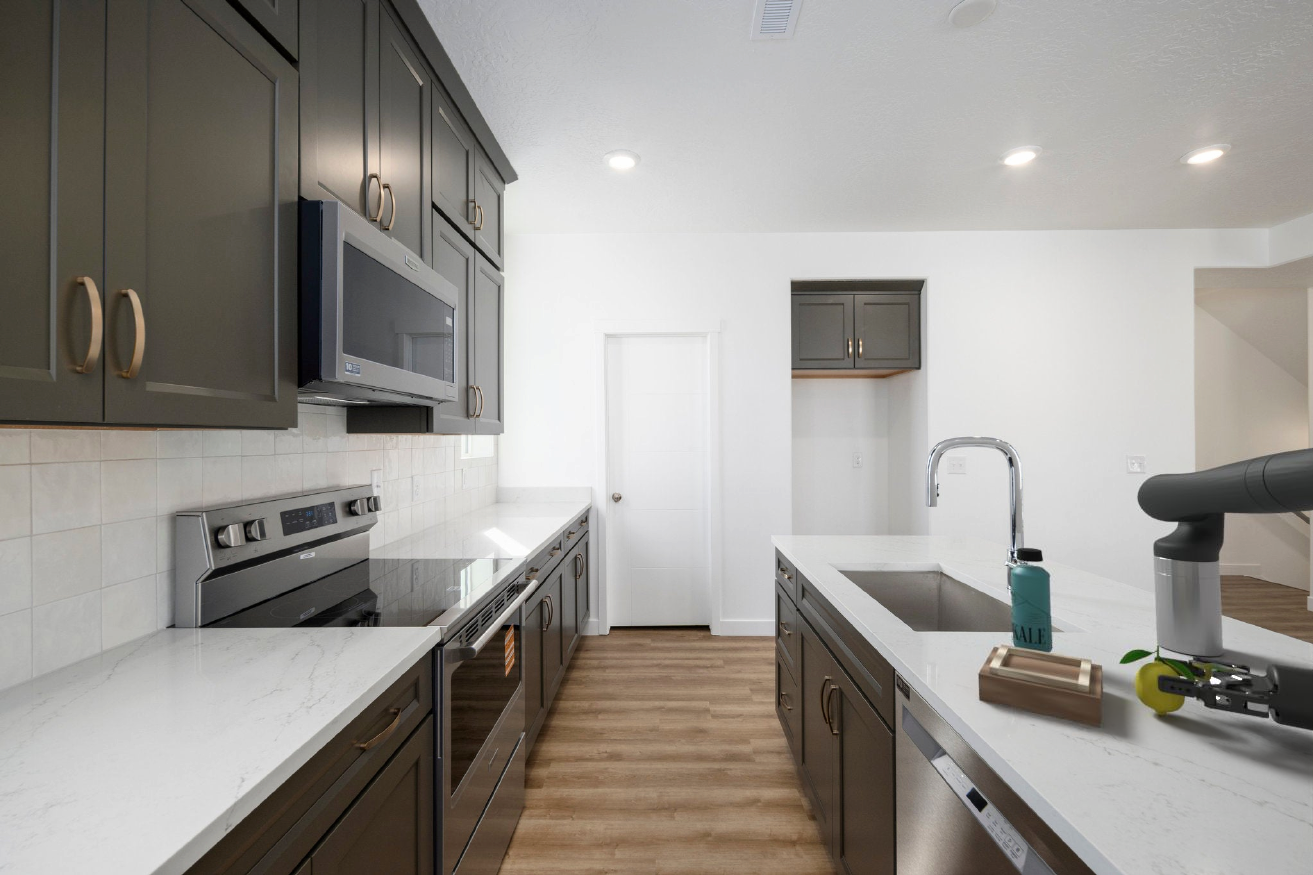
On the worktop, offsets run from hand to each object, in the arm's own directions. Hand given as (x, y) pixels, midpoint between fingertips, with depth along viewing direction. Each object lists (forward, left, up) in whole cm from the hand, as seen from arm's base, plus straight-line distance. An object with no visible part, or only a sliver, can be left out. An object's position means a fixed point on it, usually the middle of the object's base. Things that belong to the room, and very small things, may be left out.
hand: (1156, 672), depth 83 cm
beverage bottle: (-17, -17, -6) cm, 25 cm away
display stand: (+2, -14, -6) cm, 15 cm away
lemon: (0, 0, -6) cm, 6 cm away
